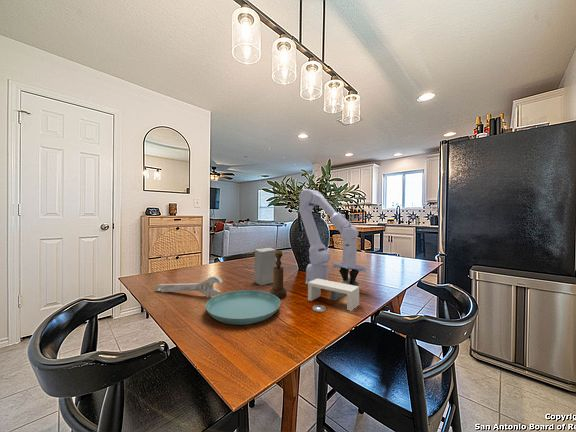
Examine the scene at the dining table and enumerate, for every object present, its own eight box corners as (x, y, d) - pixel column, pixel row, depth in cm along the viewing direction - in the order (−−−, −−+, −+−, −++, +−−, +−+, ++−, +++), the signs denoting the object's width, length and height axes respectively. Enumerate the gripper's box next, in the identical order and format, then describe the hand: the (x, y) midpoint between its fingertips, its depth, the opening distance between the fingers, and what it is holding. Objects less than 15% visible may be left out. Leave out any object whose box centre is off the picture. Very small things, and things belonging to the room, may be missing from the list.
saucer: (202, 334, 65) (202, 321, 65) (207, 301, 88) (207, 292, 88) (288, 324, 71) (289, 312, 71) (272, 296, 94) (272, 288, 94)
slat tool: (326, 298, 92) (327, 286, 92) (348, 286, 108) (348, 276, 108) (339, 301, 89) (339, 289, 89) (358, 288, 105) (359, 278, 105)
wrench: (160, 297, 99) (224, 296, 91) (156, 299, 97) (221, 298, 89) (158, 278, 99) (222, 275, 91) (154, 279, 98) (219, 276, 90)
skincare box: (268, 279, 117) (269, 247, 117) (276, 283, 111) (277, 249, 111) (253, 282, 112) (253, 248, 112) (260, 286, 106) (261, 250, 106)
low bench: (307, 300, 90) (308, 282, 90) (317, 295, 95) (317, 278, 95) (351, 311, 80) (351, 291, 80) (359, 305, 85) (359, 286, 85)
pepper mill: (266, 297, 93) (267, 250, 92) (275, 292, 98) (275, 248, 98) (281, 300, 89) (282, 252, 89) (289, 295, 95) (290, 249, 95)
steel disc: (310, 310, 81) (310, 307, 81) (316, 306, 84) (316, 303, 84) (321, 314, 78) (321, 311, 78) (327, 310, 82) (328, 307, 82)
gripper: (329, 253, 103) (329, 285, 103) (362, 257, 94) (362, 292, 95) (336, 251, 109) (336, 281, 109) (368, 255, 100) (368, 287, 100)
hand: (348, 286), depth 102 cm, fingers closed on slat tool, 2 cm apart
